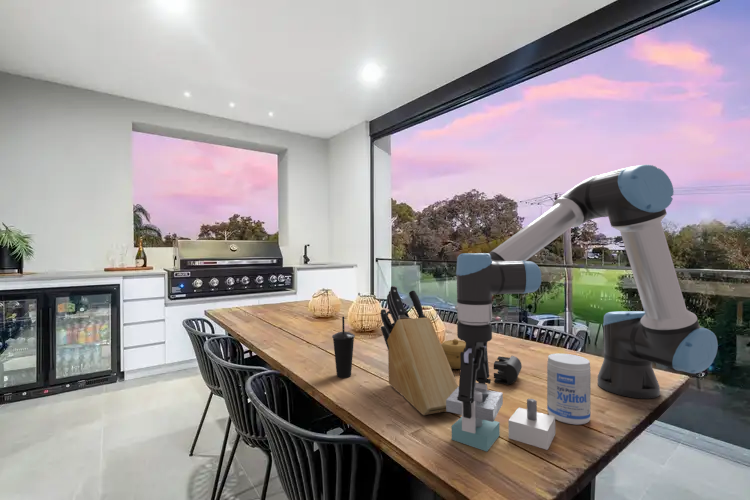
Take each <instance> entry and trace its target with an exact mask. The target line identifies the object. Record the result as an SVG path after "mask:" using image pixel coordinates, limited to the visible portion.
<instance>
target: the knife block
mask: <svg viewBox="0 0 750 500" xmlns="http://www.w3.org/2000/svg"><path fill="white" fill-rule="evenodd" d="M408 295H409V298H410V300H411V301H412V305H413V307H414V310H415V311H416V313H417V317H410V315H409V313H408V309H407V308H405V307H404V304H403V301H402V298H401V295H400V294H399V291H398V287H397V286H396V285H391V287H390V289H389V292H388V294H387V296H386V302H387V304H386V305H387V310H388V311H387V310H386V309H383V308H382V309H381V310H380V319H381V322H382V325H381V326H380V330H381V333H382V335H383V339H384V343H385V346H386V347H387V351H388V352H387V353H388V354H387V355H388V384H389V385H390V386H391V387H392V388H393V389H394V390H395V391H396V392H397V393H399V394H400V395H402V396H403V397H404V398H405V400H407V402H408V403H409V404H411V405H412V406H413V407H414V408H415V409H416V410H417V411H418V412H419V413H420V414H421V415H423V416H427V415H432V414H439V413H443V412H445V413H446V412H447V411H446V399H447V398H448V397H449V396H450V395H451V394H452V393H453V392H454V391H455V390H456V388H457V387H458V386H459V384H458V383H457V381H456V378H455V376H454V373H453V371H452V368H450V365H449V363H448V360H447V358H446V355H445V353H444V351H443V348H442V346H441V344H442V343H441V341H440V339H439V337H438V334H437V331H436V329H435V326H434V324H433V322H432V319H431V318H430V317H428V316H426V315H425V314H424V312H423V311H424V310H423V306H422V303H421V300H420V298H419V295H418V294H417V292H416V291H415V290H411V291H409V293H408ZM389 315H390V317H391V318H392V322H393V323H392V322H391V320H390V317H389Z"/></svg>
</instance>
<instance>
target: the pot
mask: <svg viewBox="0 0 750 500" xmlns="http://www.w3.org/2000/svg"><path fill="white" fill-rule="evenodd" d="M441 346H442V348H443V351H444V353H445V355H446V358H447V360H448V363H449V365H450V368H451V370H452V369H453V370H460V365H461V360H460V353H461V352H463V351H464V348H465V346H466V342H465V341H463V340H460V339H459V340H458V339H457V338H454V339H449V340H445V341H443V342H442V343H441Z"/></svg>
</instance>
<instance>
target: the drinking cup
mask: <svg viewBox="0 0 750 500" xmlns="http://www.w3.org/2000/svg"><path fill="white" fill-rule="evenodd" d="M341 319H342V328H341V329H342V331H339V332H336V333H335V334H332V336H331V338H332V339H333V340H332V341H333V350H334V361H335V370H336V377H337V378H339V379H347V378H350V377H352V368H353V367H352V366H353V355H354V354H353V353H354V342H355V337H356V336H355V334H354V333H352V332H349V331H345V316H342V318H341Z"/></svg>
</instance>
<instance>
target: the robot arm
mask: <svg viewBox="0 0 750 500" xmlns="http://www.w3.org/2000/svg"><path fill="white" fill-rule="evenodd" d="M673 186H674V185H673V183H672V181H671V178H670V176H668V174H667V173H666V172H665V171H664V170H663V169H661V168H658V167H657V166H656V165H653V164H640V165H631V166H627V167H625V168H620V169H617V170H613V171H610V172H607V173H601V174H598V175H593V176H591V177H589V178H587V179H584V180H583V181H582V182H579V183H578V184H576V185H575V186H573V187H572V188H570V189H569V190H568V191H566V192H565V193H564V194H562V195H561V196H559V197H558V198H556V199H555V200H554V201H553V203H552V207H550V208H549V209H547V210H546V211H545V212H543V213H542V214H541V215H539V216H538V217H537V218H535V219H534V220H532V221H531V222H530V223H528V224H527V225H526V226H524V227H523V228H521V229H520V230H519V231H517V232H516V233H515V234H513V235H512V236H511V237H509V238H508V239H506V240H505V241H504V242H502V243H501V244H499V245H498V246H496V247H495V248H493V249H492V250H491V251H490V252H488V253H486V252H483V253H482V252H477V253H475V252H473V253H472V252H471V253H469V252H467V253H460V254H459V255H458V256H457V258H456V270H455V276H456V298H457V299H456V305H455V307H454V309H455V310H457V312H456V314H457V318H456V319H457V320H458V322H457V323H456V325H457V326H456V329H457V330H456V331H457V332H456V333H457V334H456V336H457V338H458V339H459V340H460V341H464V342H466V346H465V348H464V351H463V352H461V353H460V360H461V365H460V369H459V382H458V386H459V393H458V397H457V400H458V401H462V415H461V417H462V431H466V432H470V433H474V434H475V432H476V419H475V401H474V393H475V388H480V389H485V390H488V384H491V382H492V381H491V380H492V379H491V378H490V369H489V357H488V355H489V354H488V342H490V341H491V340H492V339H493V325H492V323H491V321H493V309H492V307H493V305H492V301H493V300H492V299H493V295H505V294H506V295H509V294H510V295H513V294H514V295H515V294H522V295H525V294H528V293H529V294H530V293H535V292H536V291H538V290H539V288H540V287H541V284H542V271H541V268H540V267H539V266H538V264H537V263H535V262H534V261H530V260H529V259H530V258H532V257H534V255H536V254H537V253H538V252H539V251H541V250H542V249H544V248H545V247H547V246H548V245H549V244H550V243H552V242H553V241H554V240H556V239H557V238H558V237H560V236H561V235H563V234H565V232H567V231H569V229H570V228H578V227H580V226H581V225H582V224H584V223H586V222H588V221H591V220H595V219H598V218H607V217H608V219H609V224H610V226H611V227H612V228H614V229H615V230H618V231H619V233H620V235H621V238H622V242H623V245H624V248H625V249H624V250H625V252H626V255H627V258H628V262H629V266H630V268H631V272H632V275H633V278H634V281H635V285H636V288H637V292H638V296H639V298H640V301H641V305H642V308H643V311H641V310H640V311H639V310H636V311H635V310H632V311H631V310H629V311H628V310H626V311H625V310H624V311H623V310H620V311H609V312H606V313H605V314H604V315H603V323H602V330H603V331H602V332H603V361H602V363H601V364H602V365H601V366H600V369H599V372H598V374H597V385H598V386H599V387H600V388H601V389H602V390H604V391H606V392H609V393H612V394H615V395H619V396H623V397H629V398H632V399H633V398H634V399H645V400H646V399H655V398H658V397H660V396H661V390H660V389H661V387H660V383H659V381H658V379H657V377H656V376H657V375H656V374H655V371H654V369H653V364H652V363H655V364H658V365H661V366H664V367H667V368H671V369H674V371H679V372H680V371H681V372H685V373H688V374H699V373H702V372H704V371H705V370H708V368H709V367H710V366H711V365H712V364H713V362H714V361H715V358H716V356H717V353H718V347H719V346H718V344H719V343H718V338H717V336H716V334H715V333H714V332H713V331H711V330H710V329H708V328H705V327H701V326H700V322H699V320H698V317H697V315H696V313H694V312H691V311H690V310H688V309H687V307H686V303H685V299H684V296H683V293H682V290H681V286H680V282H679V279H678V274H677V272H676V269H675V264H674V261H673V259H672V256H671V252H670V248H669V245H668V241H667V237H666V235H665V231H664V227H663V224H662V221H663V219H664V218H665V217H666V215H668V214H667V211H666V210H667V208H669V206H670V205H671V204H672V202H673V196H674V193H675V192H674V187H673Z"/></svg>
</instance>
